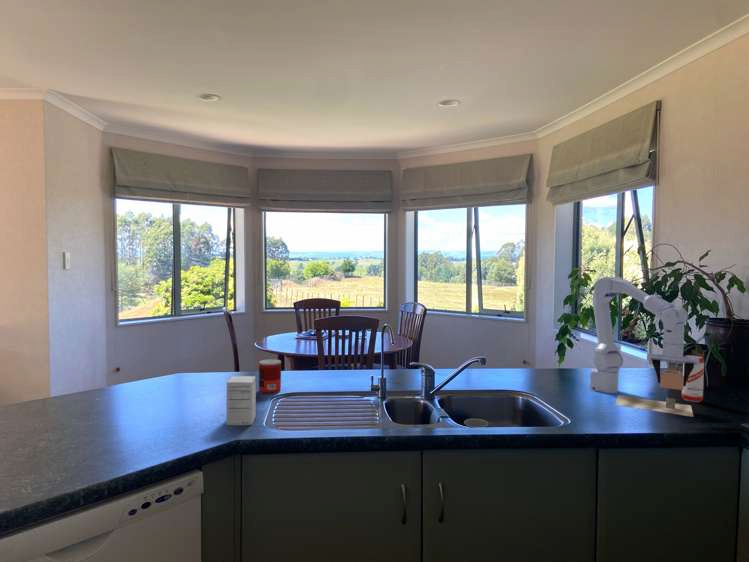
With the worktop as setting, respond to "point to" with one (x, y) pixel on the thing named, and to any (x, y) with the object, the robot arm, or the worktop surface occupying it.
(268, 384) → the canned food
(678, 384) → the tan boxy piece
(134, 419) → the worktop surface
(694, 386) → the beer can
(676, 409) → the board
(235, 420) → the supplement box
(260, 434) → the worktop surface
